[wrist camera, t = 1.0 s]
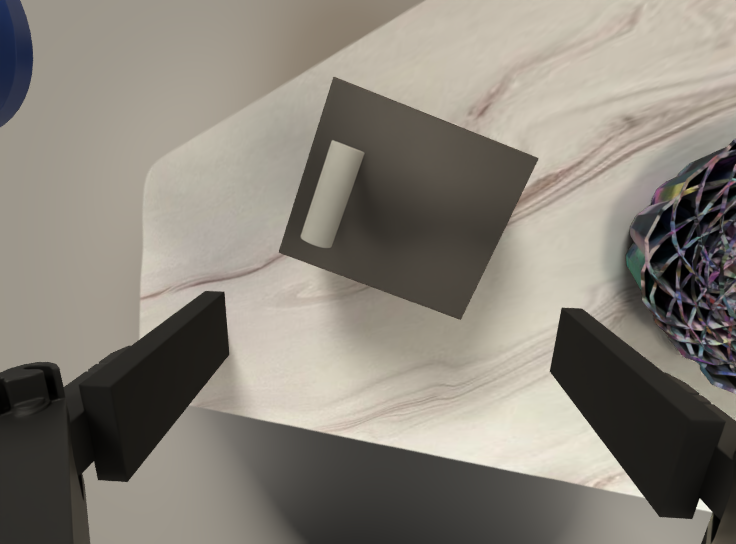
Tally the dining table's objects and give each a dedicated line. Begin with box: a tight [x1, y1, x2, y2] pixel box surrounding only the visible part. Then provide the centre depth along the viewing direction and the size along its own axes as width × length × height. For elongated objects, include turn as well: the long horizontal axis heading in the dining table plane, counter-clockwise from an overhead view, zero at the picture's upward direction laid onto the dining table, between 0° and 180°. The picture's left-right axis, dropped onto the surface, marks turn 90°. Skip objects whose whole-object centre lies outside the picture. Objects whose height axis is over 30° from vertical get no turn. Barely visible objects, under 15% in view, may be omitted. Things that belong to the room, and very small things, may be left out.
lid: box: [279, 77, 538, 320], centre depth 27 cm, size 17×14×10 cm
